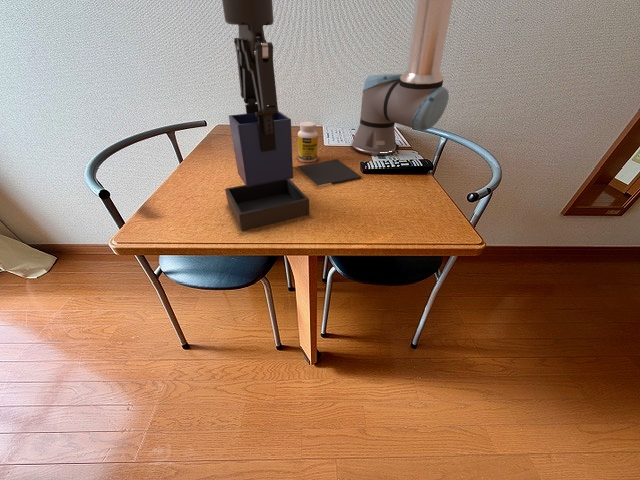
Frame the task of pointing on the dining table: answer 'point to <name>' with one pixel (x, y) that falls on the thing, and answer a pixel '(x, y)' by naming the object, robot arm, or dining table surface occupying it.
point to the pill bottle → (307, 142)
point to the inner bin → (252, 160)
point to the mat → (328, 172)
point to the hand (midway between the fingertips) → (262, 143)
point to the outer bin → (266, 203)
